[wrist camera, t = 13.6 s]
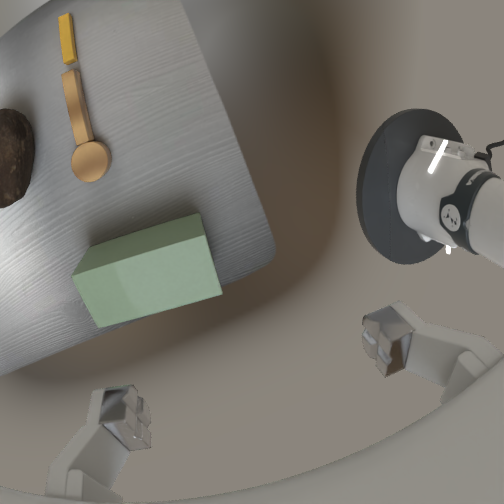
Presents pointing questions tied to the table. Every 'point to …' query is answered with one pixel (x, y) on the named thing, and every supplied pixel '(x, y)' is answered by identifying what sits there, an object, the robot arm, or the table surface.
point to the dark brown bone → (14, 156)
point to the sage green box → (147, 272)
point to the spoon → (84, 133)
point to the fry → (67, 39)
